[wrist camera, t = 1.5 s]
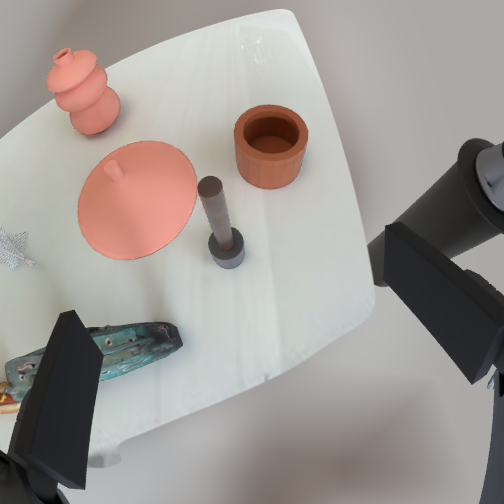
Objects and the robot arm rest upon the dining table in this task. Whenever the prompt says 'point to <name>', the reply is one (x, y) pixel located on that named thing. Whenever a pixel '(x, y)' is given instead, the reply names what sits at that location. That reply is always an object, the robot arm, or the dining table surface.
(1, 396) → the food
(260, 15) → the dining table surface
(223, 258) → the pestle
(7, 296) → the dining table surface
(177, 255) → the dining table surface
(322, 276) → the dining table surface
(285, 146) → the jar
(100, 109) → the ceramic vessels
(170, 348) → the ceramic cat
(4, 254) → the test tube brush
